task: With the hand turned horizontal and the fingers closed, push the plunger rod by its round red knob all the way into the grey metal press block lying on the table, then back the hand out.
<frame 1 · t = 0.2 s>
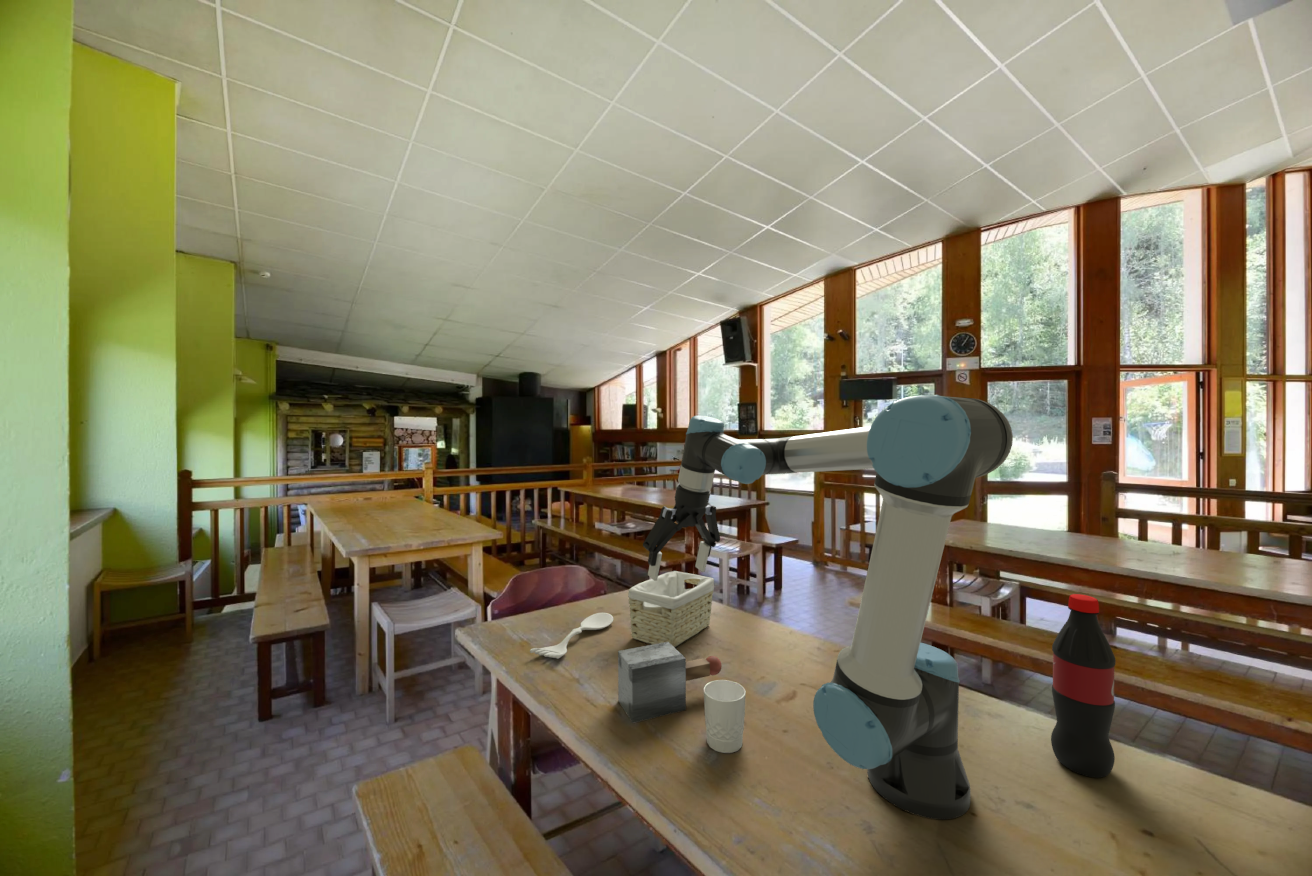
hand: (676, 573, 114), 26 cm above the table, tool tilted 15°, fingers open, 13 cm apart
plunger: (694, 669, 111), point 6 cm above the table, slide at 6.0 cm
cola bottle: (1081, 767, 88), on the table
storage basket: (672, 633, 146), on the table
white cup: (724, 743, 95), on the table
white plastic spork: (577, 641, 141), on the table
press block: (651, 705, 107), on the table
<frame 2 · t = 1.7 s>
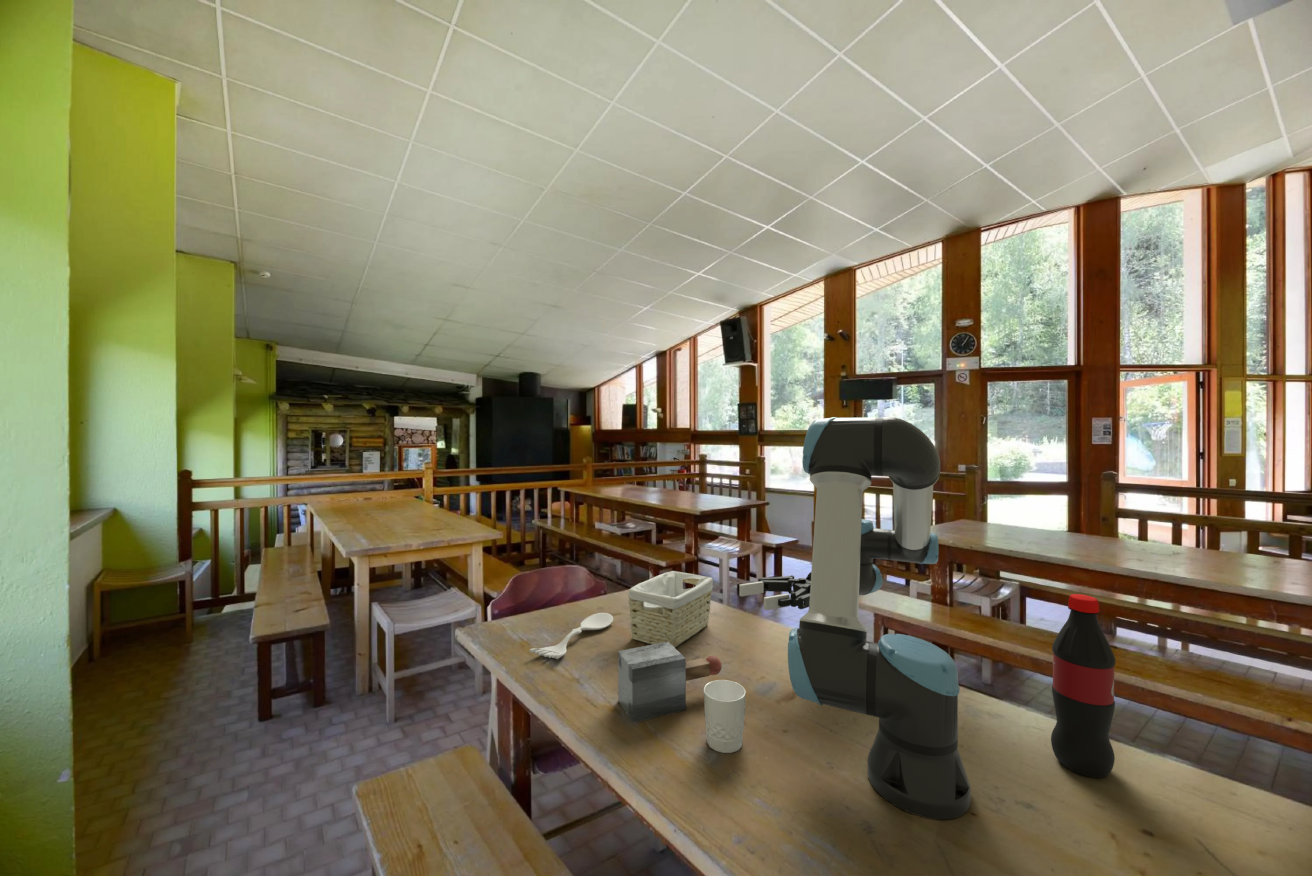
hand: (752, 597, 117), 20 cm above the table, tool horizontal, fingers open, 9 cm apart
nothing on the table moved.
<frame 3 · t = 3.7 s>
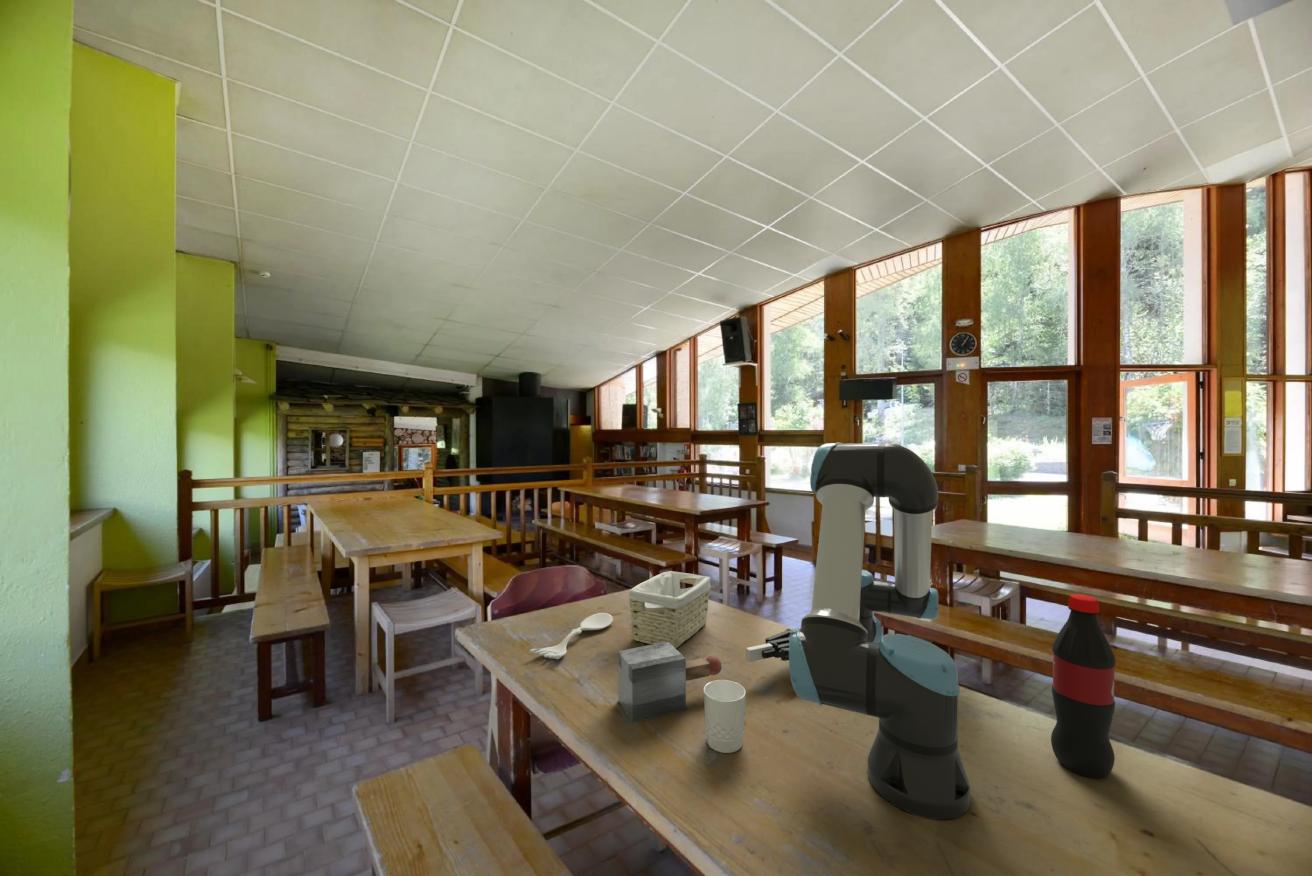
hand: (747, 654, 117), 7 cm above the table, tool horizontal, fingers closed
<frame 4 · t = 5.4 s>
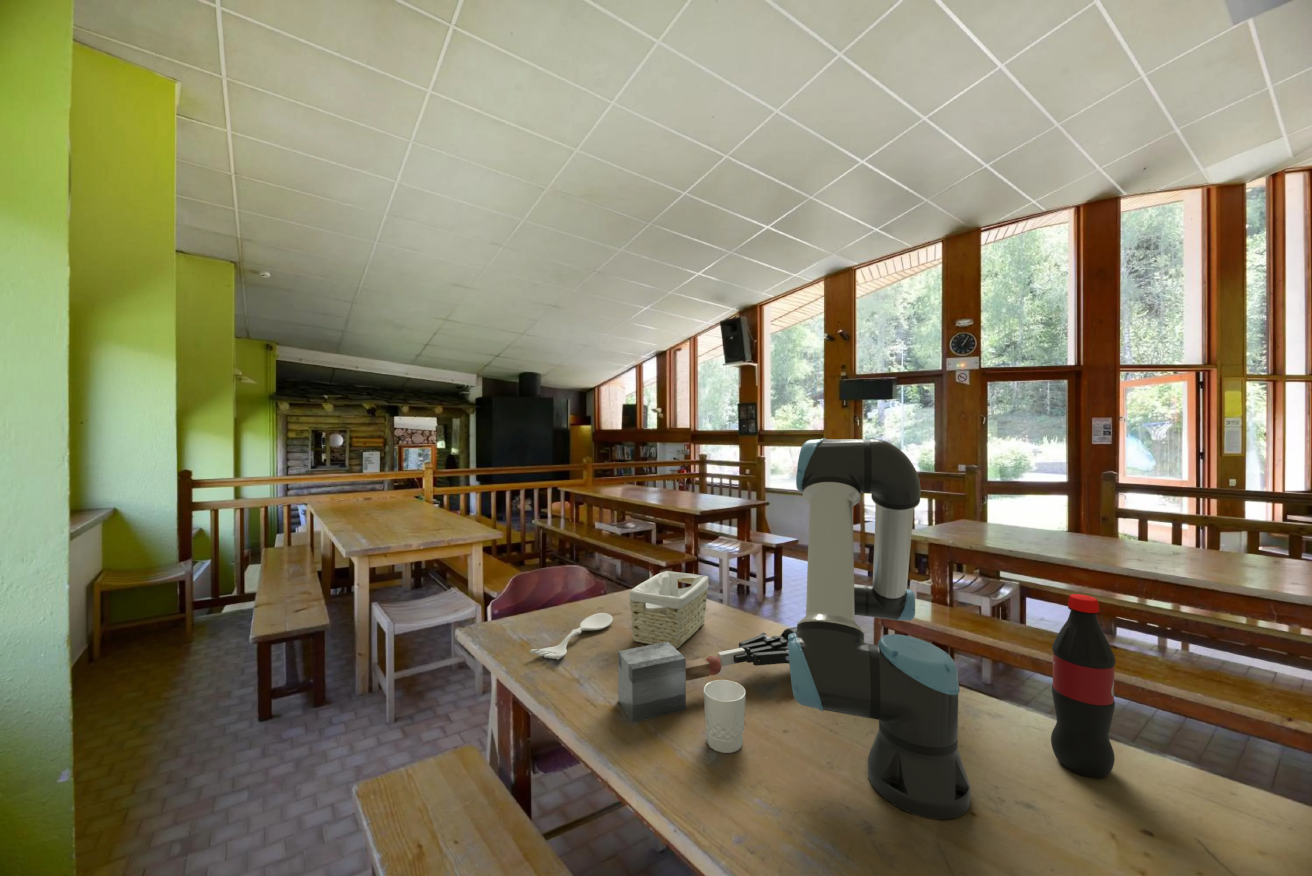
hand: (719, 659, 115), 6 cm above the table, tool horizontal, fingers closed
plunger: (693, 669, 111), point 6 cm above the table, slide at 5.9 cm, touching gripper
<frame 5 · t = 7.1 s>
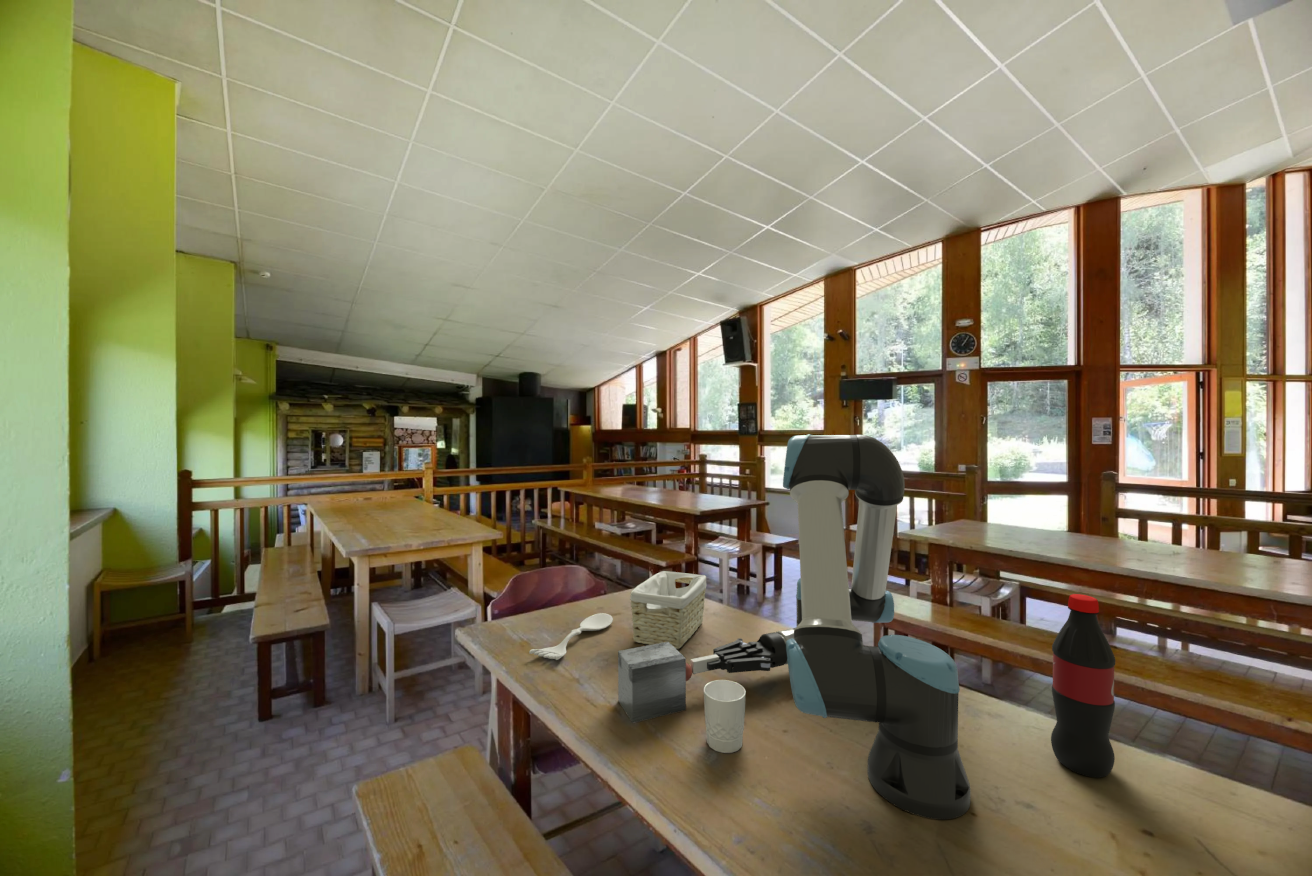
hand: (692, 666, 111), 6 cm above the table, tool horizontal, fingers closed
plunger: (663, 676, 108), point 6 cm above the table, slide at -1.5 cm, touching gripper
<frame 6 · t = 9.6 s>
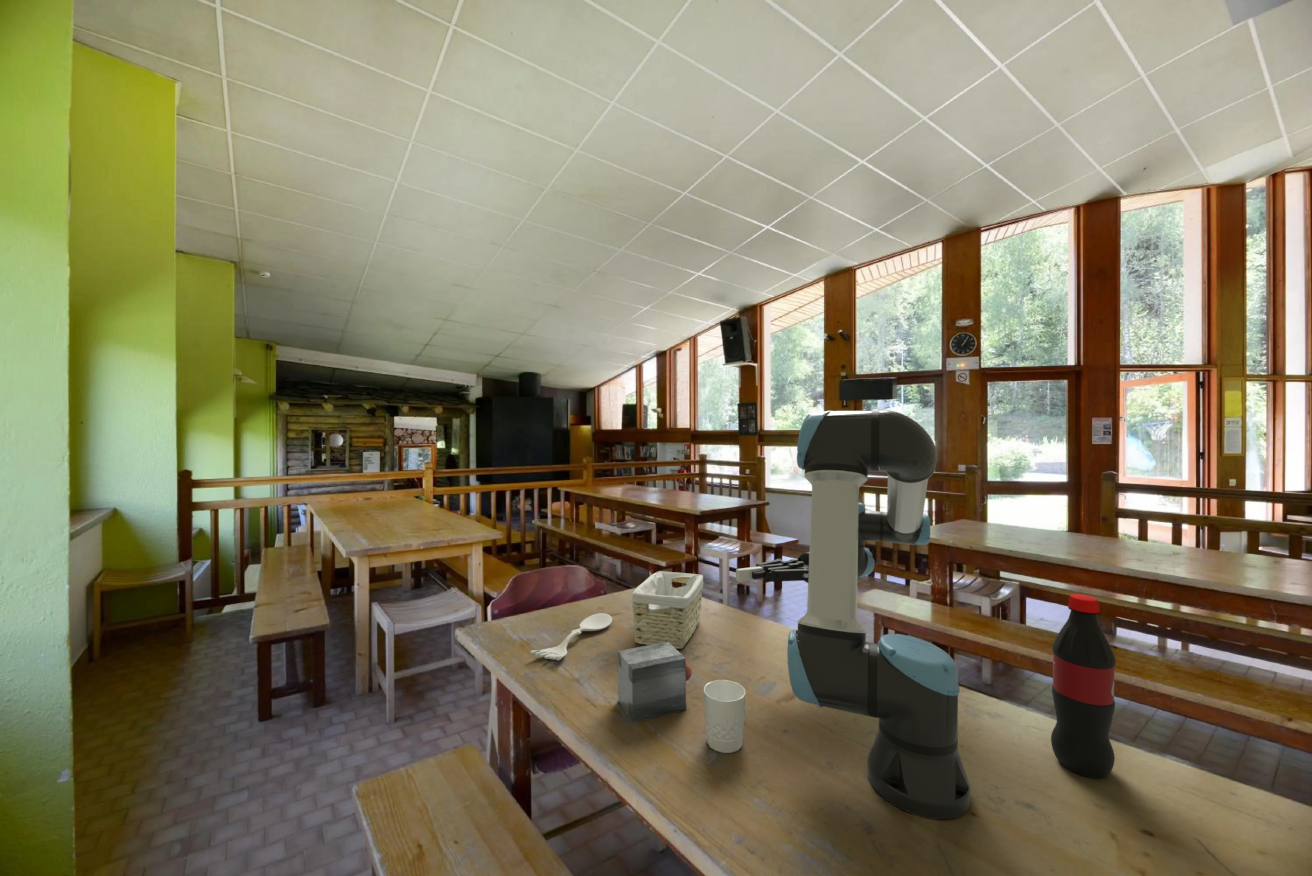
hand: (737, 575, 116), 25 cm above the table, tool horizontal, fingers closed
plunger: (662, 676, 108), point 6 cm above the table, slide at -1.6 cm
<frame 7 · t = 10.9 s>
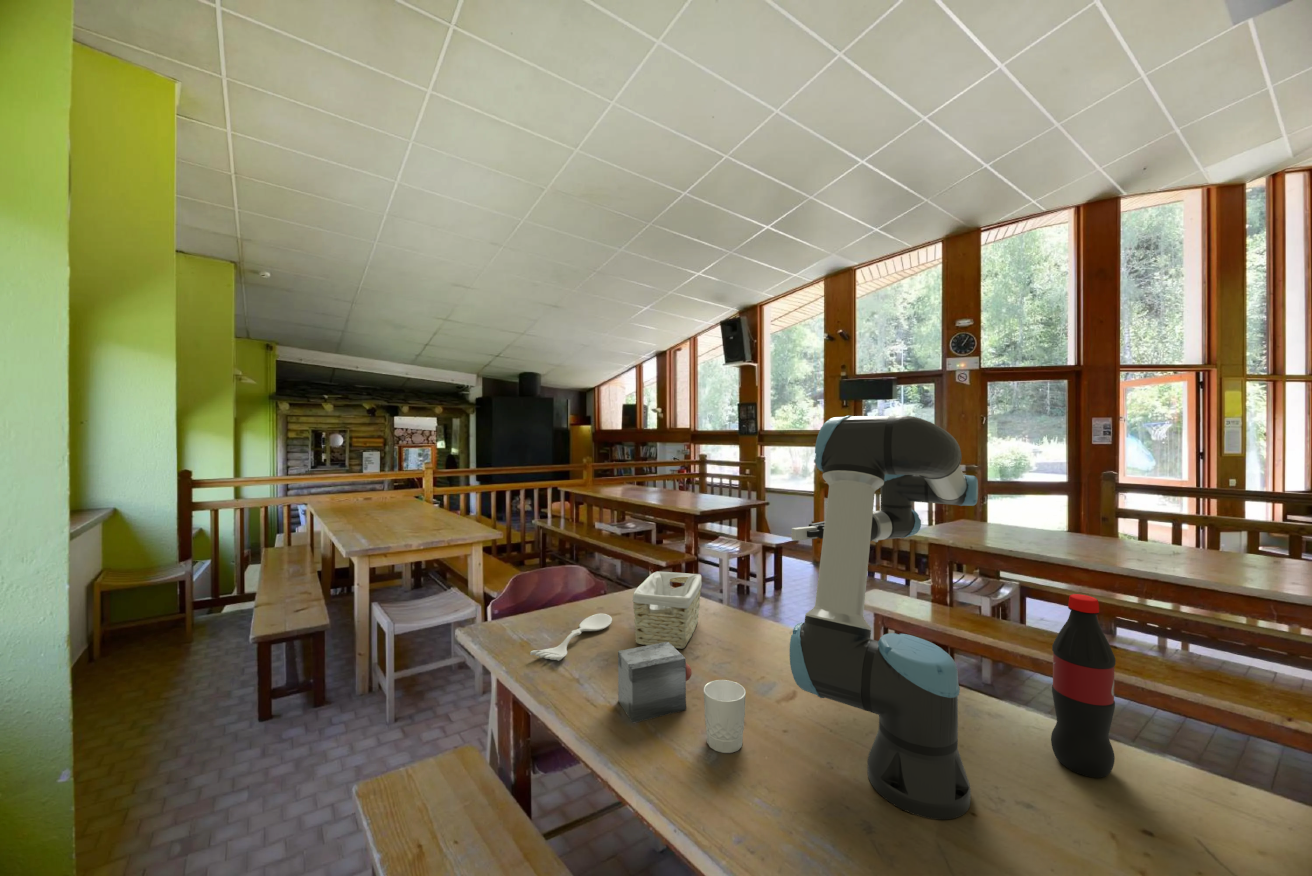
hand: (793, 534, 120), 34 cm above the table, tool horizontal, fingers closed
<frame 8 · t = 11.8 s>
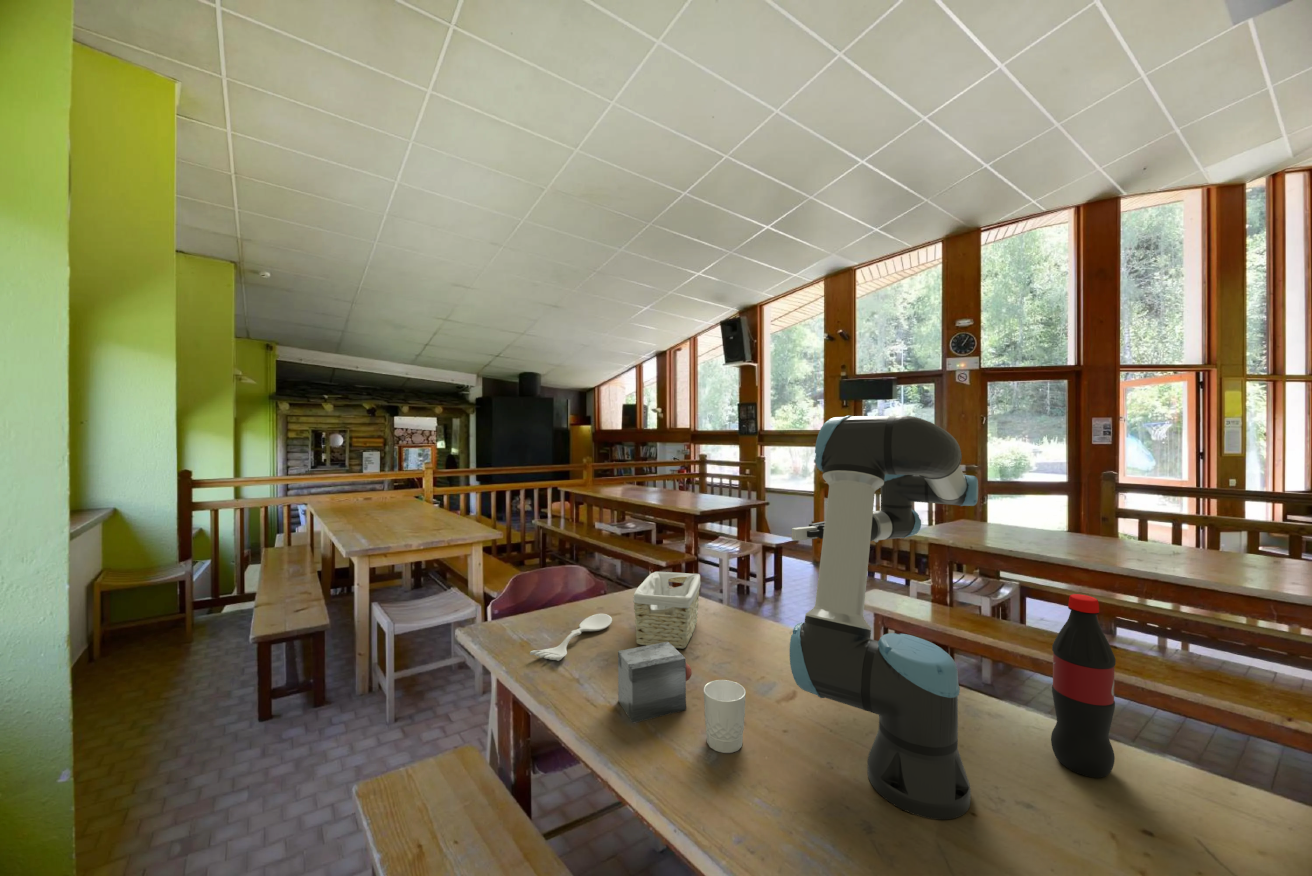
hand: (793, 534, 120), 34 cm above the table, tool horizontal, fingers closed
at the end: plunger slide at -1.6 cm; the gripper is holding nothing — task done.
